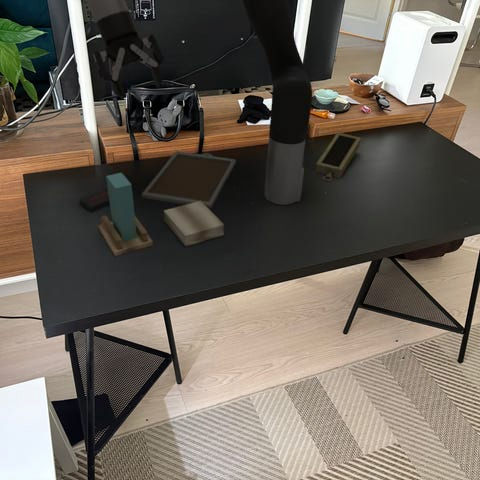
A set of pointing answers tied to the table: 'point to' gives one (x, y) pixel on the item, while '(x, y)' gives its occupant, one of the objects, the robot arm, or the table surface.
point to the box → (337, 156)
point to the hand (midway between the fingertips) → (141, 91)
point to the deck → (193, 223)
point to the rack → (116, 241)
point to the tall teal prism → (122, 206)
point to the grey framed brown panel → (190, 179)
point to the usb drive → (95, 201)
